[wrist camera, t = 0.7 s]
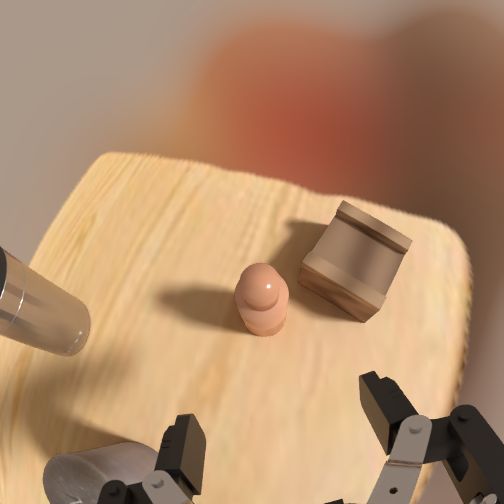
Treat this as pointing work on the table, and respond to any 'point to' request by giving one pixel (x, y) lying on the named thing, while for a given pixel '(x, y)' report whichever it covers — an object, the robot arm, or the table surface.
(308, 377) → the table surface
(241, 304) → the peg doll
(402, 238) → the pedestal
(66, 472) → the pillar candle
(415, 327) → the table surface
